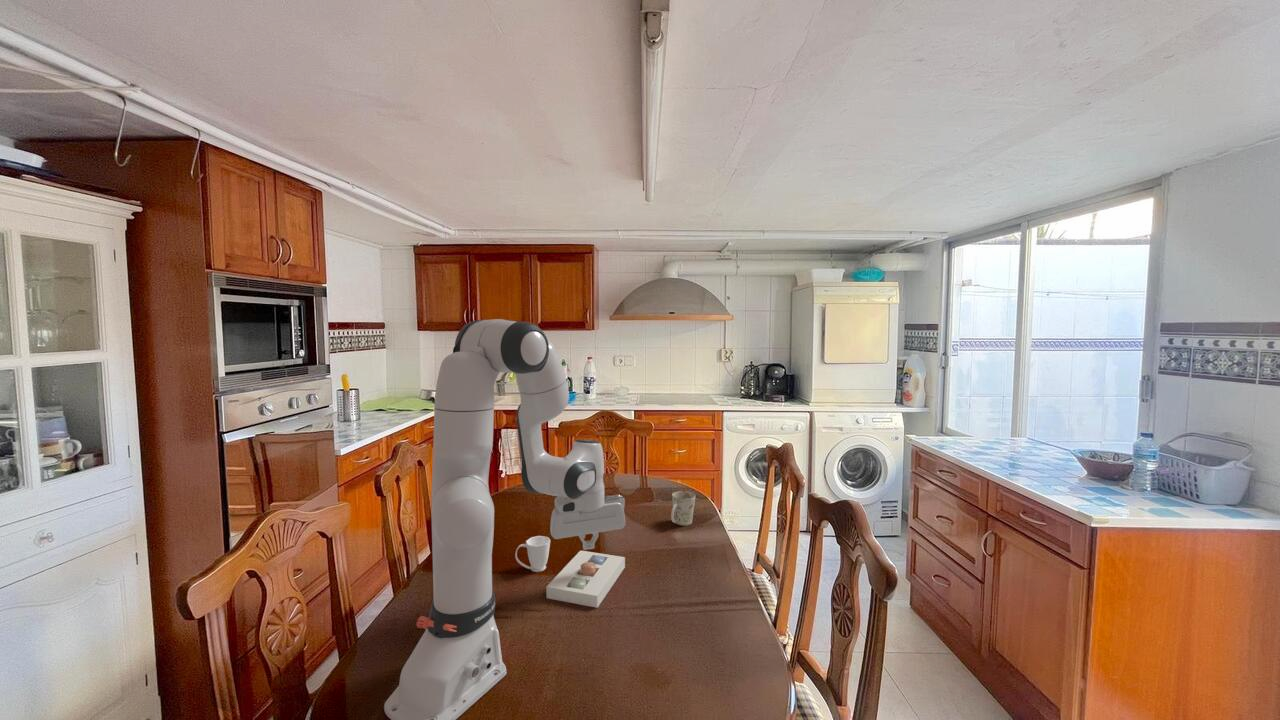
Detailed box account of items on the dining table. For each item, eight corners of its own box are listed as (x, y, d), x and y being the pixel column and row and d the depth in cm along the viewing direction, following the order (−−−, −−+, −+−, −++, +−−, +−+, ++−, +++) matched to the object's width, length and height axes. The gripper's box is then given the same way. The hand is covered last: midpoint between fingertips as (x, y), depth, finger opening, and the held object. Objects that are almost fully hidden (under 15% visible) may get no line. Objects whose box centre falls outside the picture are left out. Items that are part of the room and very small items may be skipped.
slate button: (601, 573, 130) (601, 563, 130) (588, 571, 131) (587, 561, 131) (606, 566, 134) (606, 556, 133) (593, 564, 135) (593, 554, 135)
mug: (699, 520, 167) (699, 493, 167) (683, 533, 157) (683, 504, 156) (678, 516, 172) (678, 489, 171) (661, 527, 161) (661, 499, 161)
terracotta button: (592, 581, 124) (592, 570, 123) (578, 578, 125) (578, 568, 125) (597, 573, 127) (597, 563, 127) (584, 571, 129) (584, 561, 128)
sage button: (581, 599, 117) (581, 587, 117) (567, 596, 119) (567, 584, 118) (588, 590, 121) (588, 579, 121) (574, 588, 122) (574, 577, 122)
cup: (549, 574, 130) (548, 546, 130) (512, 575, 130) (512, 546, 129) (552, 561, 137) (552, 535, 137) (518, 562, 137) (517, 535, 136)
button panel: (597, 607, 114) (597, 596, 114) (546, 598, 118) (546, 586, 118) (624, 567, 134) (624, 557, 134) (580, 560, 138) (580, 550, 138)
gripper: (621, 490, 131) (621, 537, 132) (548, 499, 124) (549, 549, 125) (628, 497, 125) (628, 547, 126) (552, 507, 118) (553, 560, 119)
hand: (588, 548), depth 126 cm, fingers closed
